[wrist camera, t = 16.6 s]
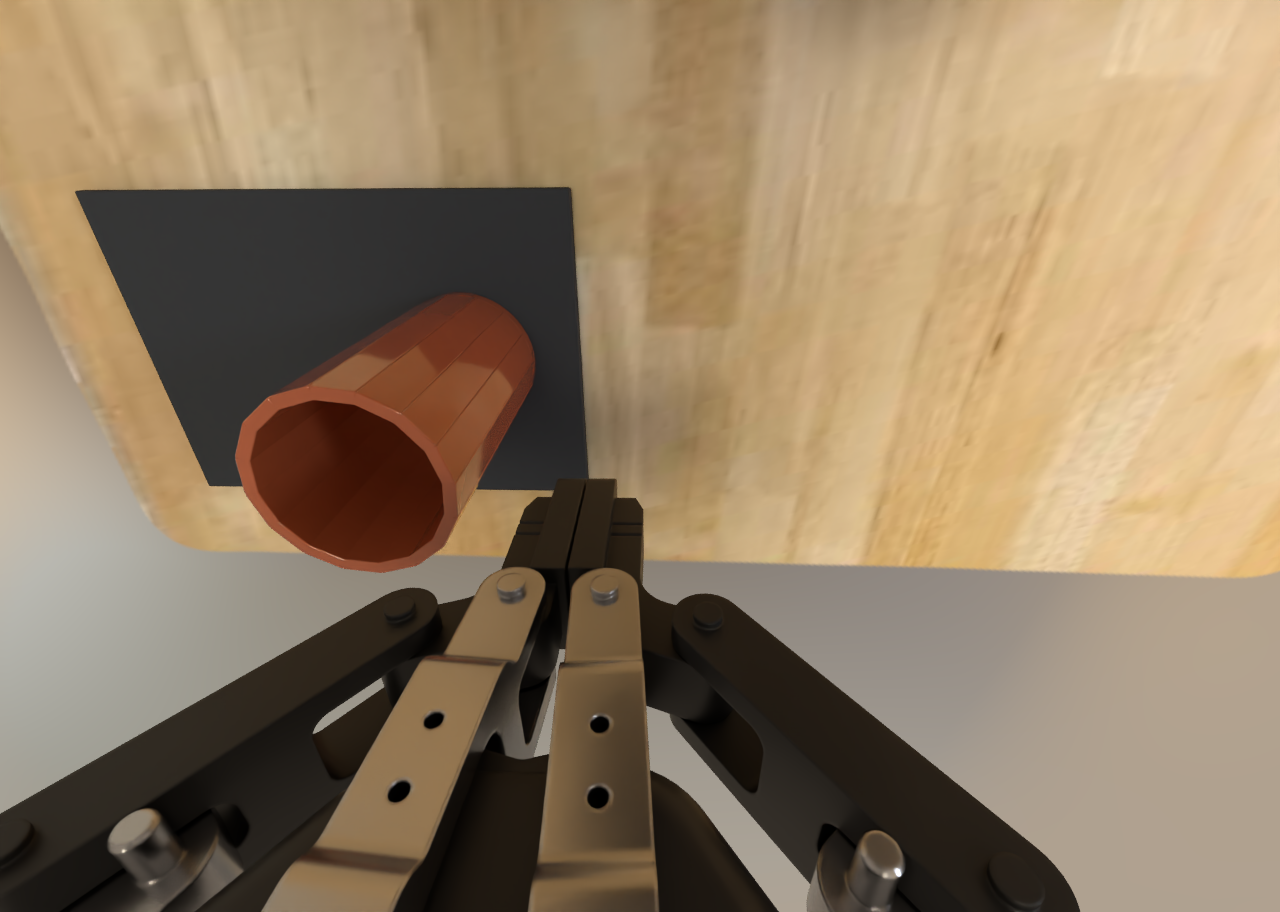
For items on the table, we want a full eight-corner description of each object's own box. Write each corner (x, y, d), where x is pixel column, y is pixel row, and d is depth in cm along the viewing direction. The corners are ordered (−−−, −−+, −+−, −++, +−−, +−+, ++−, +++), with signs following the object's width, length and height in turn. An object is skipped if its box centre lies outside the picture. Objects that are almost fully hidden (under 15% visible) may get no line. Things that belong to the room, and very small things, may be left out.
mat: (571, 187, 22) (568, 188, 21) (589, 485, 29) (587, 491, 28) (87, 190, 22) (73, 190, 22) (216, 480, 29) (209, 486, 29)
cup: (466, 262, 23) (322, 340, 13) (562, 370, 25) (501, 506, 15) (376, 347, 25) (193, 471, 15) (472, 441, 27) (368, 601, 17)
